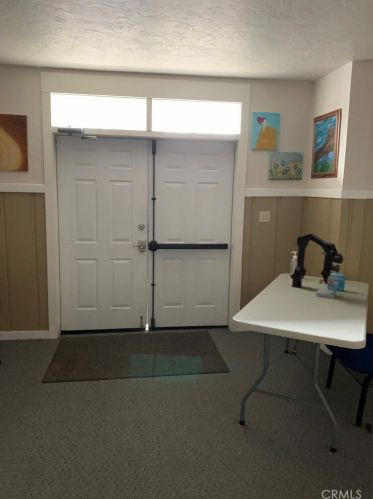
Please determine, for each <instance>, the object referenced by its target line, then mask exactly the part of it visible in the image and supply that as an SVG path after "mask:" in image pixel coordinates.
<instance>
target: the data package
mask: <svg viewBox="0 0 373 499" xmlns="http://www.w3.org/2000/svg"><path fill="white" fill-rule="evenodd" d="M330 279H334V281H333V285H330V282H328V284H327V285H326V287H327V288H326V289H328V291H334V290H336V292H338V291H339V292H343V291H344V290H345V285H346V275H345V274H341V273H333V272H332V273H331V275H330Z"/></svg>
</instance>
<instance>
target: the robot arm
mask: <svg viewBox="0 0 373 499" xmlns="http://www.w3.org/2000/svg"><path fill="white" fill-rule="evenodd" d="M310 241H311V242H313V243H315V244H316V245H318V246H320V247H321V249H322V250H323V251H322V253H321V254H322V255H324V256H323V257H324V259H323V263H322V264H323V268H322V270H320V275H321V276H322V278H323V279H324V281H323V282H324V284H325V283H327V280H328V277H329V276H330V275H331V273H333V272H335V273H336V274H339V273H340V271H341V267H340V265H341V264H342V263H343V261H344V257H343V255H342V253H339V252H338V250H337V248H336V245H335V243H333V242H329V241H325V239H323V238H320V237H319V236H318V235H316V234H315V233H308V234H306V235H305V234H304V235H301V236H297V239H296V245H297V247H298V254H297V260H296V261H297V262H296V266H295V268H294V271H293V273H292V274H291V275H290V279H291V280H292V281H291V282H292V283H291V287H293V288H298V289H299V288H301V287H302V286H303V279H304V277H305V276H306V272H307V269H306V268H305V266H304V265H305V257H306V256H305V254H306V248H307V247H308V244H309V242H310ZM334 263H335V264H334ZM336 264H337V265H336Z"/></svg>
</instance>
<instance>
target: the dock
mask: <svg viewBox="0 0 373 499" xmlns="http://www.w3.org/2000/svg"><path fill="white" fill-rule="evenodd" d="M336 294H337V291H336V290H325V289H324V290H323V289H318V290H317V291H316V293H315V296H316V297H318V298H319V297H321V298H326V299H331V300H332V299H335V297H336Z"/></svg>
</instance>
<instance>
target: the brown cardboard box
mask: <svg viewBox="0 0 373 499" xmlns="http://www.w3.org/2000/svg"><path fill="white" fill-rule="evenodd" d="M333 281H334V279H330V280H327V283H325V282H324V279H323V277H320V278H319V281H318V282H319V285H322V284H323V282H324V285H326V286H327V284H328V282H330V285H333Z"/></svg>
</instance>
